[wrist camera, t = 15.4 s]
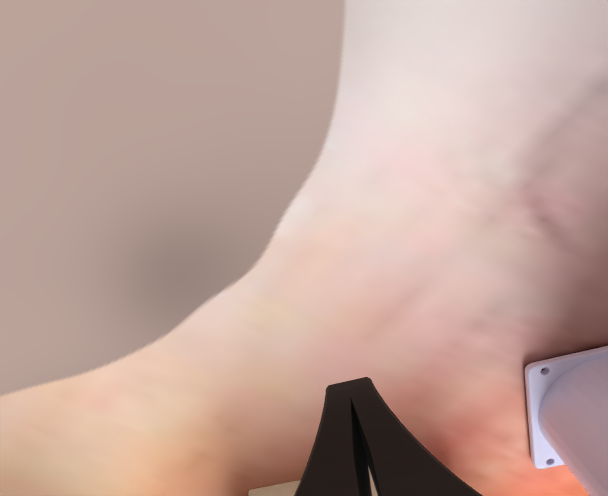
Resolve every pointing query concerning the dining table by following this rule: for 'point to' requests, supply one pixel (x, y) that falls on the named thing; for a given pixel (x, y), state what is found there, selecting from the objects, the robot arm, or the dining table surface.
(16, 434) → the dining table surface
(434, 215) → the dining table surface
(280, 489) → the tray
